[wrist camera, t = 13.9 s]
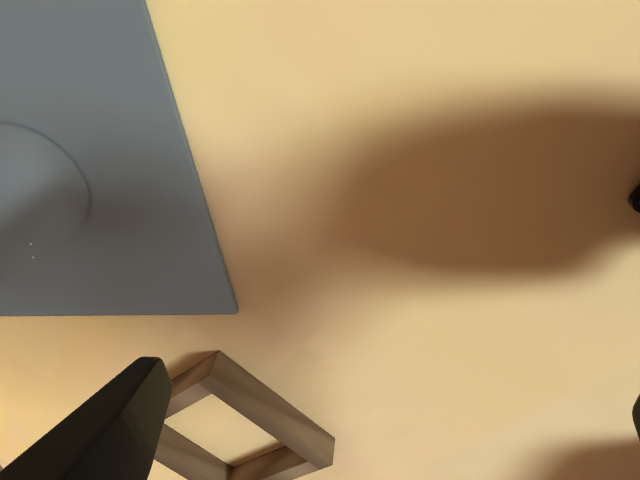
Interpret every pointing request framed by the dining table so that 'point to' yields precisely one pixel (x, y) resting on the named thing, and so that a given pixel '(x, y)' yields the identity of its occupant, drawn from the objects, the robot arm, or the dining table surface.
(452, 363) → the dining table surface
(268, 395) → the walnut holder
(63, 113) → the slate mat
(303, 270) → the dining table surface
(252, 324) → the dining table surface
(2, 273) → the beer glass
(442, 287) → the dining table surface
